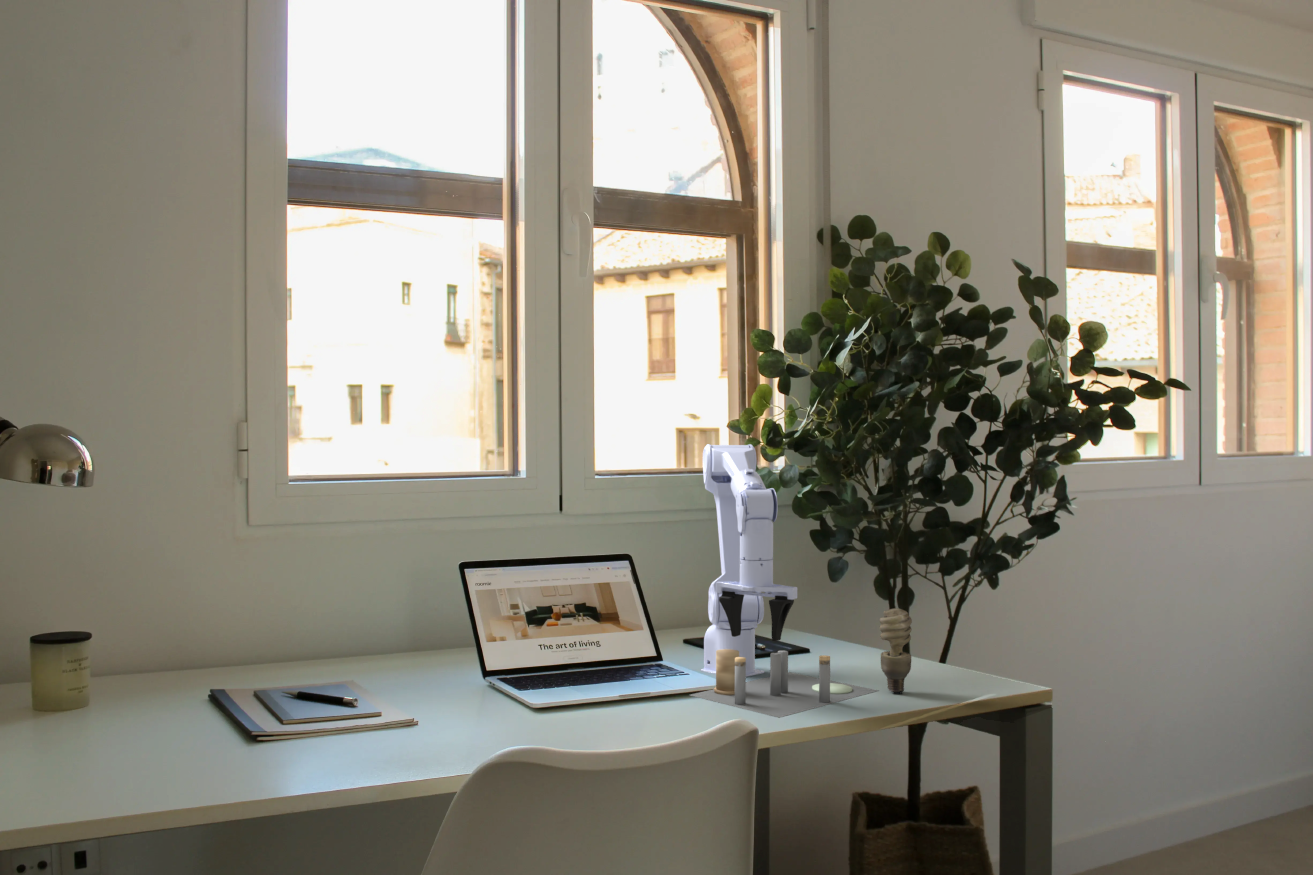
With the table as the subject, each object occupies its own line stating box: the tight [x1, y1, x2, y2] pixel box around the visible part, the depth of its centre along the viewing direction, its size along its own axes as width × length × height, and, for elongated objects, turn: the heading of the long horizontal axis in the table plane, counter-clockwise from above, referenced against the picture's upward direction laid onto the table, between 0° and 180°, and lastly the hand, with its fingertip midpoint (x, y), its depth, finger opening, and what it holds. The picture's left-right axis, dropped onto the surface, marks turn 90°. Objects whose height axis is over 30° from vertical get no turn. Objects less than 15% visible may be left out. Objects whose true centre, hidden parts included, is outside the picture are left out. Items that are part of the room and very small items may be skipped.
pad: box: [812, 683, 852, 694], centre depth 180 cm, size 7×7×1 cm
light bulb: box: [878, 607, 913, 695], centre depth 178 cm, size 6×6×15 cm
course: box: [689, 650, 880, 719], centre depth 178 cm, size 20×27×8 cm
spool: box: [713, 649, 739, 695], centre depth 178 cm, size 5×5×7 cm
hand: (756, 637), depth 177 cm, fingers open, 7 cm apart
